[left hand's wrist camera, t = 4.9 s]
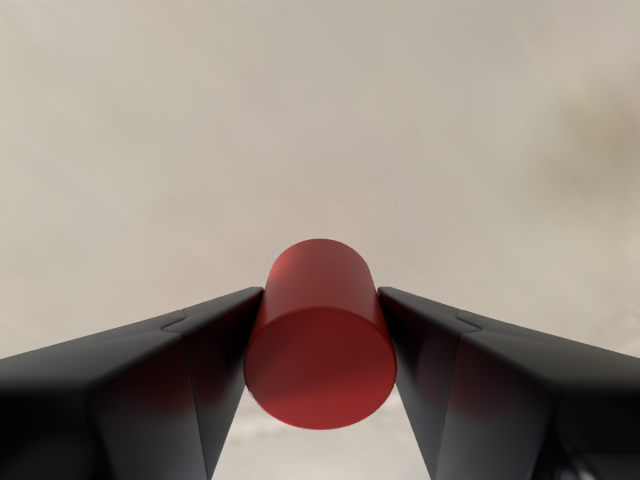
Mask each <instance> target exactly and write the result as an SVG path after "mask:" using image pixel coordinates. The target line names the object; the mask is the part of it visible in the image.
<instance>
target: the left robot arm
mask: <svg viewBox="0 0 640 480" xmlns="http://www.w3.org/2000/svg"><path fill="white" fill-rule="evenodd" d="M263 293H264V289H263V287H250V288H246V289H243V290H240V291H237V292H234V293H231V294H228V295H225V296H222V297H219V298H215V299H212V300H209V301H206V302H203V303H200V304H197V305H194V306H191V307H188V308H184V309H182V310H177V311H174V312H171V313H167V314H164V315H161V316H157V317H154V318H151V319H147V320H144V321H140V322H136V323H133V324H129V325H125V326H122V327H118V328H114V329H111V330H107V331H103V332H100V333H96V334H92V335H88V336H85V337H81V338H77V339H74V340H70V341H66V342H63V343H59V344H55V345H51V346H48V347H44V348H40V349H37V350H33V351H29V352H26V353H22V354H18V355H15V356H11V357H7V358H3V359H0V480H211V479H212V476H213V473H214V470H215V468H216V465H217V462H218V459H219V457H220V454H221V451H222V448H223V446H224V443H225V440H226V437H227V435H228V432H229V429H230V426H231V424H232V421H233V418H234V415H235V412H236V410H237V407H238V404H239V401H240V399H241V396H242V393H243V390H244V388H245V385H246V383H245V379H244V374H243V361H244V355H245V352H246V348H247V345H248V342H249V338H250V335H251V332H252V329H253V325H254V322H255V319H256V316H257V312H258V309H259V306H260V303H261V299H262V296H263ZM377 296H378V299H379V302H380V305H381V308H382V312H383V315H384V318H385V321H386V325H387V328H388V331H389V334H390V338H391V341H392V344H393V347H394V350H395V354H396V359H397V375H396V380H395V383H396V386H397V389H398V391H399V394H400V397H401V399H402V402H403V405H404V408H405V410H406V413H407V416H408V418H409V421H410V424H411V427H412V429H413V432H414V435H415V438H416V440H417V443H418V446H419V448H420V451H421V454H422V457H423V459H424V462H425V465H426V467H427V470H428V473H429V476H430V478H431V480H640V358H636V357H632V356H629V355H625V354H621V353H618V352H614V351H610V350H606V349H603V348H599V347H595V346H591V345H588V344H584V343H580V342H577V341H573V340H569V339H565V338H562V337H558V336H554V335H551V334H547V333H543V332H539V331H536V330H532V329H528V328H524V327H521V326H517V325H513V324H510V323H506V322H502V321H499V320H495V319H492V318H488V317H485V316H481V315H478V314H475V313H472V312H468V311H465V310H460V309H457V308H454V307H451V306H448V305H445V304H442V303H439V302H436V301H432V300H429V299H426V298H423V297H420V296H417V295H414V294H411V293H407V292H404V291H401V290H398V289H395V288H392V287H379V288H378V290H377Z"/></svg>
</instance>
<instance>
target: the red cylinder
mask: <svg viewBox="0 0 640 480" xmlns="http://www.w3.org/2000/svg"><path fill="white" fill-rule="evenodd" d="M243 374H244V379H245V383H246V386H247V388H248V391H249V393H250V394H251V396H252V398H253V399H254V400H255V402H256V403H257V404H258V405H259V406H260V407H261V408H262V409H263V410H264V411H265V412H267V413H268V414H269V415H270V416H272V417H274V418H275V419H277V420H279V421H281V422H283V423H286V424H288V425H291V426H294V427H299V428H303V429H311V430H330V429H337V428H342V427H345V426H349V425H352V424H354V423H357V422H359V421H361V420H363V419H365V418H367V417H368V416H370V415H371V414H373V413H374V412H375V411H376V410H377V409H378V408H380V406H381V405H382V404H383V403H384V402H385V401H386V399H387V398H388V396H389V395H390V393H391V391H392V389H393V386H394V383H395V380H396V375H397V359H396V354H395V350H394V347H393V344H392V341H391V338H390V334H389V331H388V328H387V325H386V321H385V318H384V315H383V312H382V308H381V305H380V302H379V299H378V296H377V292H376V289H375V286H374V283H373V279H372V276H371V273H370V270H369V268H368V266H367V264H366V262H365V261H364V259H363V258H362V257H361V256H360V255H359V254H358V253H357V252H356V251H355V250H353V249H352V248H351V247H349V246H347V245H345V244H343V243H341V242H338V241H334V240H329V239H311V240H306V241H302V242H300V243H297V244H295V245H293V246H291V247H290V248H288V249H287V250H285V251H284V252H283V253H282V254H281V255H280V256H279V257H278V258H277V259H276V261H275V262H274V264H273V266H272V268H271V270H270V273H269V277H268V280H267V283H266V286H265V290H264V293H263V296H262V299H261V303H260V306H259V309H258V312H257V316H256V319H255V322H254V325H253V329H252V332H251V335H250V338H249V342H248V345H247V348H246V352H245V355H244V361H243Z"/></svg>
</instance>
